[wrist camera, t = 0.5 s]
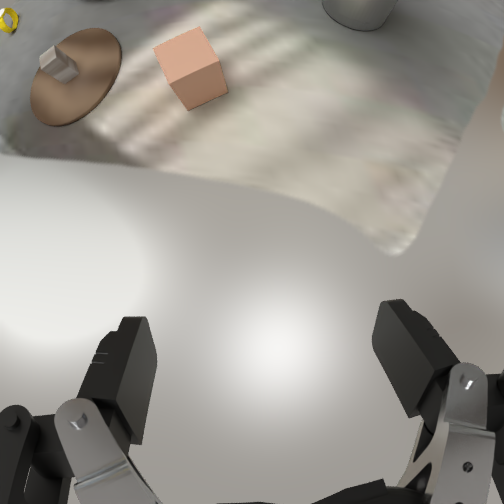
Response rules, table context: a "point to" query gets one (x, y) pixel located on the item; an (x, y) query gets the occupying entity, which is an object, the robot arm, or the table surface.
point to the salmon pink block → (191, 68)
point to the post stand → (75, 76)
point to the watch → (14, 16)
